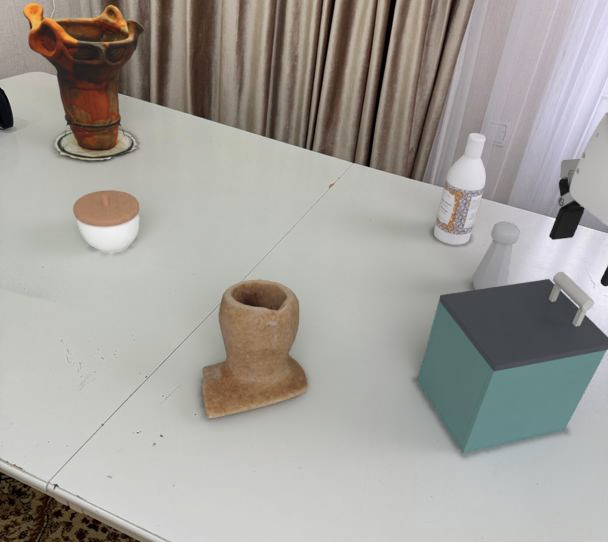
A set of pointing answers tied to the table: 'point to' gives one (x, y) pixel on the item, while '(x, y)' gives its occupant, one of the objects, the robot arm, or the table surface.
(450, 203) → the bath foam
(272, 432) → the table surface
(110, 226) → the trinket box
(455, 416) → the teal storage box
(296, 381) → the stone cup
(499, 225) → the salt shaker
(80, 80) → the decorative vase
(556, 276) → the dark gray box lid
